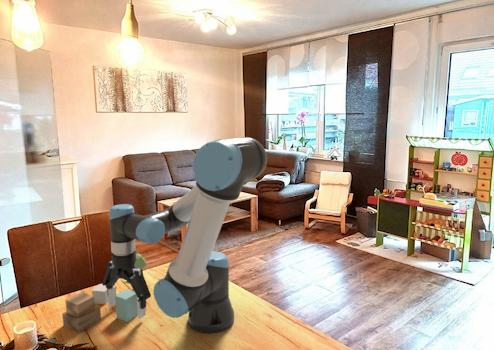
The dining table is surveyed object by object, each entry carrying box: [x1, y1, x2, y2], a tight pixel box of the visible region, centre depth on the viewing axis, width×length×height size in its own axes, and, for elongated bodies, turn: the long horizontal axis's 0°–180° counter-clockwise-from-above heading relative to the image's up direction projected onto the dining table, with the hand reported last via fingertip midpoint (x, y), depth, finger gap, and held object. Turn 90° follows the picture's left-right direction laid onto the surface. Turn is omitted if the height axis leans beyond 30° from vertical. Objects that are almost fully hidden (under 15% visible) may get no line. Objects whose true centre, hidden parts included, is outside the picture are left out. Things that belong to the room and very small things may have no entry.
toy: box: [122, 253, 147, 291], centre depth 135 cm, size 7×8×15 cm
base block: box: [62, 305, 102, 333], centre depth 115 cm, size 8×8×4 cm
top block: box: [65, 291, 96, 318], centre depth 114 cm, size 6×6×4 cm
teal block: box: [115, 288, 139, 323], centre depth 119 cm, size 5×5×8 cm
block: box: [91, 283, 109, 305], centre depth 129 cm, size 5×5×5 cm
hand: (127, 310), depth 119 cm, fingers open, 13 cm apart
